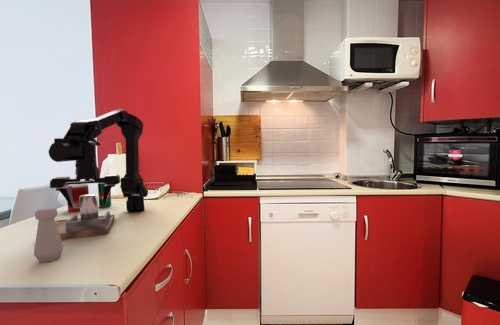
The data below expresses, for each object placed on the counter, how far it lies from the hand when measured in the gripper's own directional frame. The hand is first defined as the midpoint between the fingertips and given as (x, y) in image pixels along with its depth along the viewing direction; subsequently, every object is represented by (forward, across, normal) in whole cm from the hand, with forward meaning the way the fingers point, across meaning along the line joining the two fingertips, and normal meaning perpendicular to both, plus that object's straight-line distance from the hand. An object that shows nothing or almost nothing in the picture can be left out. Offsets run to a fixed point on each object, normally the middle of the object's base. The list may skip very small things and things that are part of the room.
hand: (88, 206), depth 83 cm
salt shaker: (+8, +5, +20) cm, 22 cm away
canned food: (+8, +11, -34) cm, 37 cm away
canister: (+6, 0, 0) cm, 6 cm away
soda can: (+8, +1, -36) cm, 37 cm away
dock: (+8, +3, -2) cm, 9 cm away
